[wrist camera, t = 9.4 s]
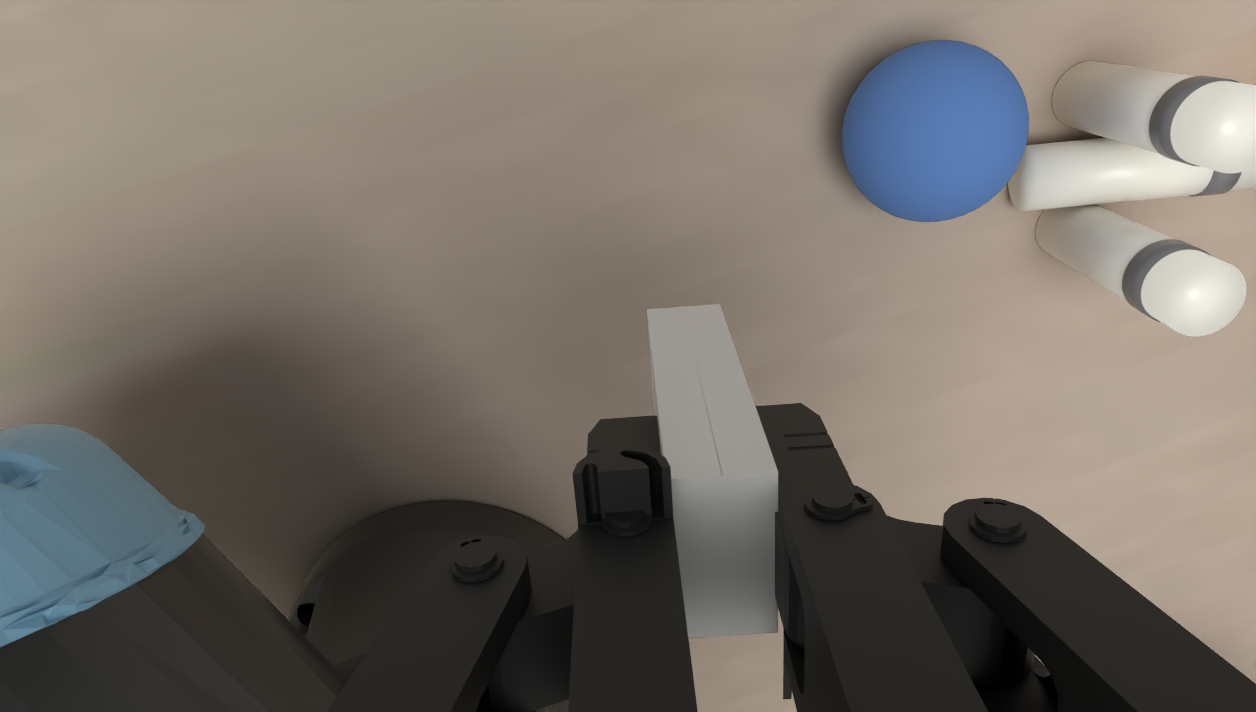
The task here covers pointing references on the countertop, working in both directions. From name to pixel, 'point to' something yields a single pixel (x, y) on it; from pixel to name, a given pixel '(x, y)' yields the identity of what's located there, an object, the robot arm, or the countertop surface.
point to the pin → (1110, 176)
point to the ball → (935, 131)
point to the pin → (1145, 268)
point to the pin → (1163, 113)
